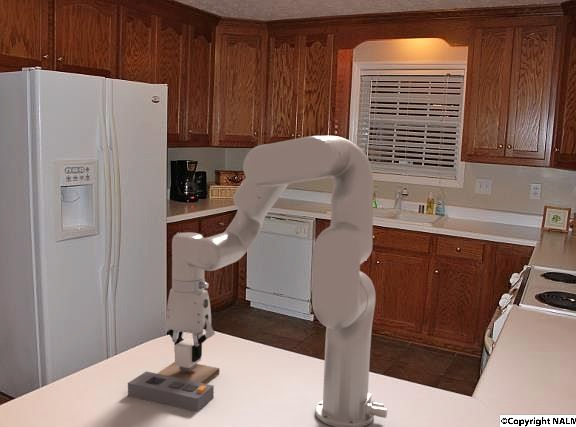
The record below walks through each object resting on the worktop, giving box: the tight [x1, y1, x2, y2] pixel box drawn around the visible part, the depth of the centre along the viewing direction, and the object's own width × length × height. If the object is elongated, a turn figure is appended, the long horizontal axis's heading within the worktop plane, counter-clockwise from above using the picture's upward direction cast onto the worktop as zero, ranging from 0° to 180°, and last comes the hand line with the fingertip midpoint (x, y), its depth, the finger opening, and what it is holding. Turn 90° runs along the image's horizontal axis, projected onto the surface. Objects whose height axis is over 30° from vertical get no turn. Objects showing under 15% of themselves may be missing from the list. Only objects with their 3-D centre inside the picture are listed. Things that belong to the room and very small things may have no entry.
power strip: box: [127, 370, 215, 413], centre depth 129 cm, size 18×7×4 cm, turn 68°
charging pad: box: [156, 361, 220, 384], centre depth 140 cm, size 12×10×2 cm
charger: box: [174, 337, 202, 372], centre depth 139 cm, size 4×6×6 cm
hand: (188, 357), depth 139 cm, fingers closed on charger, 4 cm apart
